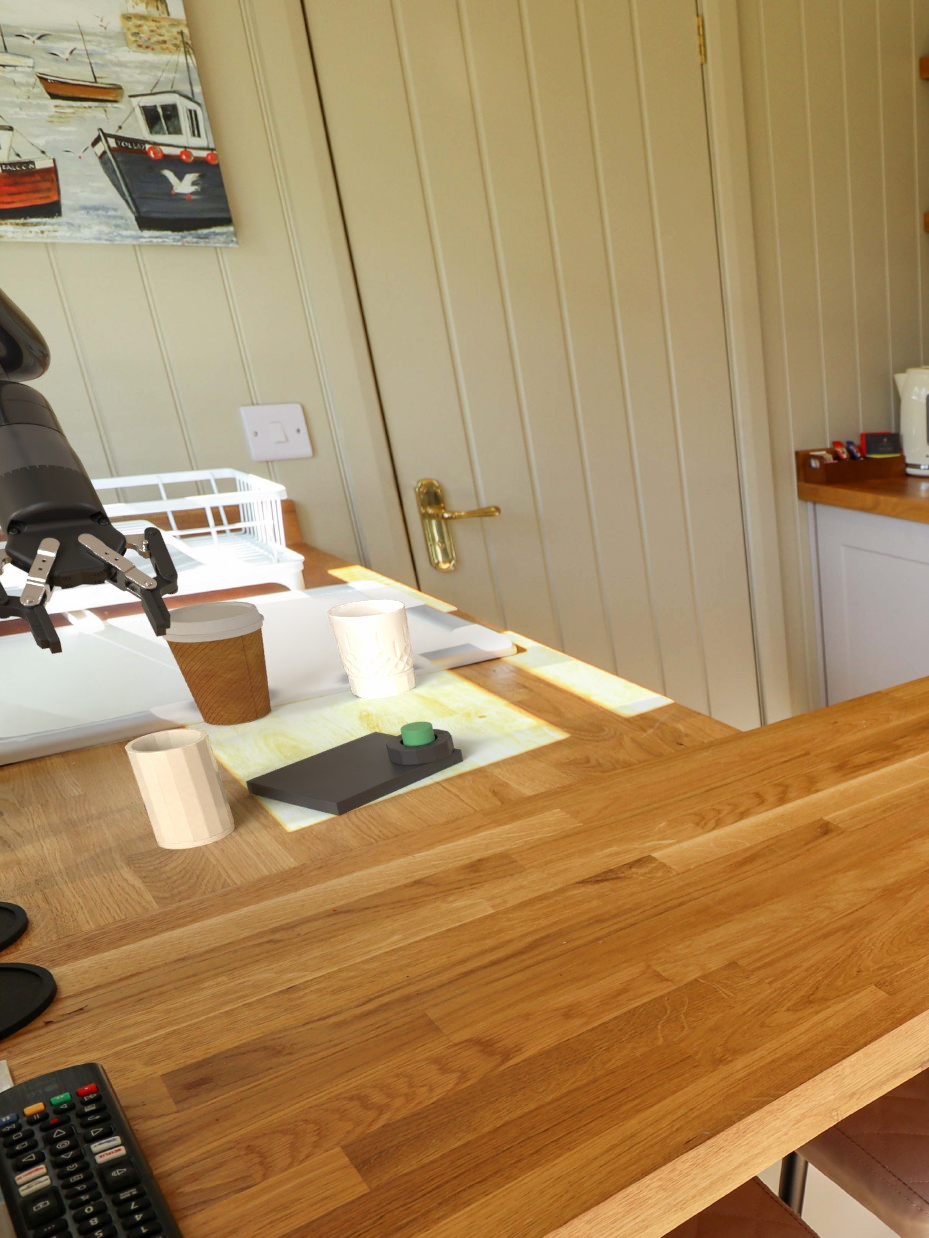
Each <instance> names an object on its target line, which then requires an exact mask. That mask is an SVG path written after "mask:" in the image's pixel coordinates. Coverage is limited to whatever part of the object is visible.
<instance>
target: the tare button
mask: <svg viewBox="0 0 929 1238" xmlns="http://www.w3.org/2000/svg"><path fill="white" fill-rule="evenodd" d="M433 729H434V726H433V724H432V723H431V722H430V721H413V722H409V723H405V724H404V725H402V726H401V727H400V734H402V738H403V743H404V745H406V746H419V745H423V744H428V743H431V742H433V741H435V736H434V731H433Z"/></svg>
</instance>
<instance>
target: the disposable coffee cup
mask: <svg viewBox="0 0 929 1238" xmlns="http://www.w3.org/2000/svg"><path fill="white" fill-rule="evenodd" d="M168 611H169V613H170V616H171V626H170V629H166V635H164V636H161V637H162V638H163V639H164V640H165V641H166V643H167V646H168V648H169V650H170V652H171V654H172V656H173V658H174V660H175V662H176V664H177V667H178V669H179V671H180V673H181V675H182V677H183V679H184V682H185V683H186V685H187V688H188V690H189V692H190V693H191V696H192V698H193V700H194V703H195V704H196V707H197V709H198V711H199V714H200V716H201V717H202V719H203V722H204V723H205V724H208V725H211V726H233V725H241V724H245V723H250V722H254V721H256V720H259V719H262V718H264V717H267V716H268V715H269V714H270V713H271V712H272V707H271V706H272V705H271V698H270V689H269V688H270V687H269V681H268V671H267V665H266V655H265V646H264V638H263V630H262V628H263V625H264V621H265V616H264V615H263V614H262V613H260V611H259V609H258V607H257V606H256V605H255V604H254V603H252V602H247V601H235V600H232V601H213V602H204V603H197V604H190V605H186V606H180V607H177V608H173V609H171V610H168Z"/></svg>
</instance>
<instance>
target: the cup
mask: <svg viewBox="0 0 929 1238" xmlns="http://www.w3.org/2000/svg"><path fill="white" fill-rule="evenodd" d="M124 750H125V753H126V756H127V759H128V762H129V765H130V767H131V771H132V775H133V777H134V779H135V783H136V785H137V789H138V791H139V794H140V799H141V801H142V804H143V806H144V810H145V812H146V815H147V818H148V822H149V824H150V827H151V830H152V833H153V837H154V838H155V840H156V844H157V845H158V847H160V848H162V849H167V850H184V849H192V848H197V847H202V846H206V845H209V844H211V843H215V842H218V841H220V840H222V839H224V838H226V837H228V836H229V835H230V834H232V833H233V832H234V831H235V828H236V824H235V820H234V817H233V813H232V810H231V807H230V802H229V800H228V797H227V793H226V789H225V786H224V783H223V780H222V777H221V773H220V770H219V767H218V764H217V759H216V756H215V753H214V750H213V747H212V743H211V741H210V736H209V734H208V732H207V731H206V730H204V729H199V728H190V727H188V728H187V727H185V728H174V729H165V730H160V731H157V732H152V733H148V734H145V735H142V736H139V737H137V738H135V739H133V740H131V741H129V742H127V744H126V745H125V746H124Z"/></svg>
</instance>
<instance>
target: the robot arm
mask: <svg viewBox="0 0 929 1238" xmlns="http://www.w3.org/2000/svg"><path fill="white" fill-rule="evenodd" d="M51 362H52V357H51V350H50V347H49V345H48V342H47V340H46V338H45V336H44V335H43V334H42V332H41V330H39V328H38V327H37V325H36V324H35V323H34V322H33V321H32V320H31V319H30V317H29V316H28V315H27V314H26V313H25V312H24V311H23V310H22V309H21V307H19V306H18V305H17V304H16V303H15V302H14V301H13V300H12V299H11V298H10V296H8V294H7V293H6V292H5V291H4V290H3V289H2V288H1V287H0V529H1V532H2V533H3V535H4V538H5V540H6V543H5V546H4V548H0V577H1V576H2V575H4V573H5V570H4V567H5V566H6V565H8V564H10V565H11V566H13V567H15V568H16V569H19V570H20V571H23V572H24V573H26V574H27V576H26V577H27V578H26V583H25V586H24V588H23V590H22V593H21V594H20V596H19V595H8V592H7V591H6V589H5V588H4V587H5V586H4V585H3V584H2V582H1V581H0V619H1V620H6V619H9V618H11V617H13V618H20V619H23V620H24V621H25V622H26V624H27V626H28V628H29V630H30V632H31V635H32V637H33V639H34V642H35V643H36V645H37V646H38V647H39V648H40V649H41V650H45V649H49V651H50V653H51V655H54V654H60V653H61V654H62V653H63V648H62V642H61V640H60V637H59V635H58V633H57V630H56V628H55V626H54V624H53V621H52V619H51V618H50V615H49V613H48V611H47V609H46V607H47V604H48V603H49V602H50V601H51V599H52V597H53V595H54V592H55V589H56V588H60V589H61V590H68V589H74V588H77V587H80V586H83V585H87V586H96V585H97V586H98V585H105V584H106V582H107V583H109V584H111V585H112V586H114V587H115V588H117V589H118V590H120V591H122V592H128V593H129V594H131V595H132V596H134V597H136V598H137V599H139V600H140V602H141V607H142V610H143V613H145V615H146V618H147V620H148V622H149V624H150V626H151V629H152V630H153V633H154V635H155V636H156V637H157V638H158V637H162V636H164V635H166V629H170V626H171V616H170V613H169V611H170V610H169V609H168V607H167V604H166V603H165V601H164V599H163V597H164V596H166V595H176V594H177V593H178V592H179V584H178V579H179V574H178V571H177V569H176V567H175V564H174V561H173V558H172V556H171V553H170V552H169V549H168V547H167V544H166V542H165V540H164V537H163V535H162V532H161V530H160V529H159V528H157V527H154V526H147V527H145V528H144V530H143V533H131V534H123V533H122V532H121V531H119V530H118V529H117V528H116V527H114V525H113V524H112V522H111V520H110V518H109V516H108V513H107V512H106V510H105V507H104V506H103V503H102V501H101V499H100V497H99V495H98V492H97V490H96V488H95V486H94V484H93V482H92V480H91V478H90V475H89V474H88V472H87V470H86V468H85V466H84V463H83V462H82V460H81V458H80V456H79V455H78V454H77V452H76V451H75V449H74V448H73V447H72V445H71V443H70V441H69V439H68V438H67V436H66V433H65V431H64V429H63V427H62V425H61V422H60V421H59V418H58V416H57V415H56V413H55V410H54V408H53V407H52V405H51V403H50V401H49V400H48V399H47V397H46V396H44V394H43V393H41V392H40V391H39V390H38V389H36V388H34V387H32V386H30V385H28V384H25V383H27V382H32V381H35V380H39V379H40V378H43V376H45V375H46V373H47V372H48V370H49V369H50V366H51ZM128 550H133V551H134V552H136V553H137V554H138V556H140V557H142V558H143V559H145V560H148V559H149V561H150V564H151V566H152V568H153V571H154V573H155V576H153V577H151V576H149V575H148V574H147V573H145V572H144V571H142V570H140V569H139V568H137V566H136V565H135V563H133V562H132V561H131V560H130V559H128V558H127V557H125V555H126V553H127V552H128Z"/></svg>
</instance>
